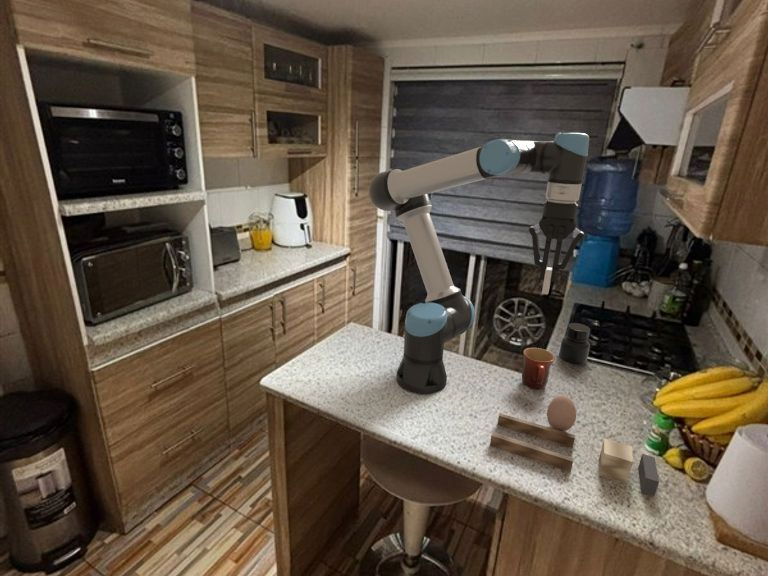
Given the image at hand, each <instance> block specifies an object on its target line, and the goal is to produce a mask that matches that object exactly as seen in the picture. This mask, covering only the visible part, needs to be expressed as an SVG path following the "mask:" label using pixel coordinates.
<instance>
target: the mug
mask: <svg viewBox="0 0 768 576" xmlns="http://www.w3.org/2000/svg"><path fill="white" fill-rule="evenodd" d="M522 353H523V358H524V361H523V362H524V363H523V369H522V374H521V381H522V384H523V385H524V386H525V387H527V388H528V389H531V390H537V391H539V390H543V389H545V388H546V386H547V384H548V381H549V376H550V370H551V366H552V364H553V362H554V361H555V355H554V354H553V353H552V352H550V350H547V349H544V348H539V347H538V348H537V347H528V348H525V349H524V350H523V352H522Z"/></svg>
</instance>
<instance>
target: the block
mask: <svg viewBox="0 0 768 576" xmlns="http://www.w3.org/2000/svg"><path fill="white" fill-rule="evenodd" d="M601 445H602V446H601V450H600V452H599V457H598V476H601V477H603V478H606V479H609V480H613V481H616V482H618V483H622V484H625V485H627V484H628V481H629V478H630V474H631V470H632V467H633V464H634V459H633V458H634V457H633V446H632V445H628V444H625V443H622V442H618V441H614V440H611V439H608V438H603V442H602V444H601Z"/></svg>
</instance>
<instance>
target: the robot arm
mask: <svg viewBox="0 0 768 576" xmlns="http://www.w3.org/2000/svg"><path fill="white" fill-rule="evenodd" d="M589 145H590V136H589V135H588V134H586V133H583V132H582V133H581V132H557V134H555V137H554V139H553V140H551V141H541V140H539V141H538V140H523V139H508V138H498V139H493V140H490V141H488V142H487V143H486V144H485V145H483V146H478V147H476V148H472V149H469V150H466V151H463V152H460V153H456V154H453V155H450V156H449V155H448V156H446V157H443V158H439V159H437V160H433V161H431V162H430V161H429V162H427V163H424V164H421V165H418V166H414V167H411V168H410V167H409V168H408V169H404V170H402V169H399V168H395V169H391V170H387V171H381V172H378V174H376V175H375V176H374V177H373V178H372V179H371V180H370V182H369V185H368V196H369V199H370V201H371V203H372V204H373V205H374V206H375V207H376V208H378V209H379V210H382V211H384V212H385V211H386V212H394V214H395V216H396V219H397V220H398V221H399V222H402V223H403V226H404V228H405V231H406V234H407V236H408V240H409V242H410V245H411V249H412V251H413V254H414V258H415V260H416V264H417V267H418V269H419V272H420V275H421V279H422V282H423V284H424V286H425V290H426V293H427V296H426V297H425V300H424V301H425V303H422V302H420V303H419V302H418V303H417V304H414V305H412V306H410V308H409V309H408V310H407V312H406V315H405V321H404V341H403V356H402V359H401V361H400V363H399V365H398V368H397V370H396V377H395V378H396V383H397V384H398V386H399V387H400V388H402V389H403V390H405V391H407V392H409V393H411V394H412V393H413V394H418V395H431V394H432V395H433V394H437V393H440V392H441V391H442V390H444V389H445V388H446V386H447V381H448V380H447V379H448V377H447V371H446V368H445V367H446V366H445V364H444V363H445V362H444V360H443V358H444V348H445V344H446V343H448V342H450V341H451V340H453V339H455V338H456V337H458V336H460V335H462V334H464V333H466V332H467V330H468V329H470V328H471V326H472V325H473V323H474V322H475V317H476V311H475V308H474V305H473V303H472V301H471V300H470V299H469V298H467V296H464V295H463V294H462V293H463V292H462V291H461V288H459V287H457V286H455V284H454V282H453V280H452V276H451V274H450V269H449V268H448V263H447V262H446V258H445V255H444V252H443V249H442V247H441V244H440V242H439V238H438V235H437V231H436V229H435V225H434V223H433V220H432V217H431V214H430V213H431V210H432V208H433V205H432V201H431V200H432V197H433V194H434V193H436V192H440V191H445V190H447V189H451V188H456V187H461V186H464V185H467V184H472V183H476V182H480V181H484V180H487V179H493V178H497V177H501V176H504V175H510V174H513V175H514V174H525V173H526V174H543V175H548V180H547V185H546V191H545V198H546V200H545V201H544V204H543V209H542V214H541V215H542V216H541V219H540V220H539V222H538V223H537V224H535V225H531V226H530V227H529V228H528V232H529V234H530V236H531V240H532V251H533V261H534V265H535V266H537V267H540V272H539V273H540V274H539V280H540V281H543V283H542V288H541V289H542V290H541V295H546V296H547V295H548V294H549V291H550V286H551V282H552V283H554V282H556V280H557V273H558V271H559V270H565V269H566V267H567V265H568V263H569V261H570V259H571V257H572V255H573V253H574V251H575V248H576V246H577V244H578V243H579V242H580V241H581V240H582V238H584V235H585V233H584V231H582V230H579V228H577V224H576V216H577V211H578V206H579V204H578V203H577V202H578V201H579V200H580V195H581V190H582V184H583V179H584V178H583V177H584V174H585V169H586V168H585V167H586V163H587V160H588V156H589V153H588V152H589ZM540 230H541V232H542V233H543V235H544V237H545V243H544V249H543V255H542V259H541V250H540V238H539V233H540ZM570 234H572V240H571V242H570V245H569V246H568V249H567V251H566V252H565V255H564V257H563V259H562V261H561V262H560V259H561V251H562V247H563V243H564V242H563V241H564V240H565V239H566V238H567V237H568V236H569V235H570ZM553 239H555V240H556V246H555V251H554V257H553V261H552V262H553V263H552V267H551V266H550V267H548V264H549V259H550V252H551V246H552V241H553Z"/></svg>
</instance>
